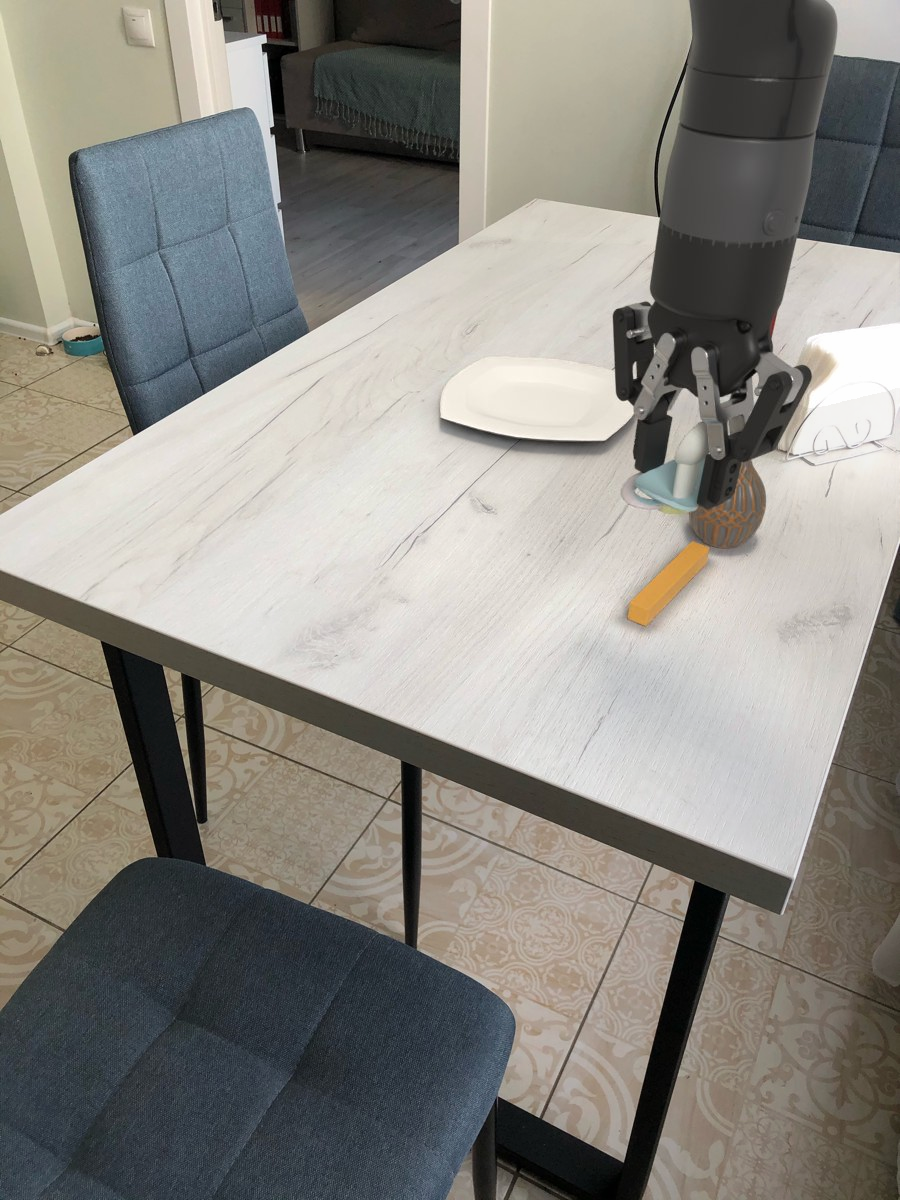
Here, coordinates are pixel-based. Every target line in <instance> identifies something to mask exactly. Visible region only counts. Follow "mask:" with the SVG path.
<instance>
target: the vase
mask: <svg viewBox="0 0 900 1200" xmlns="http://www.w3.org/2000/svg"><path fill="white" fill-rule="evenodd" d="M737 480H738V481H737V484H736V489H735V493H734V495H733V496H732V497H731V499H729V500H726V501H725V502H724V503H722V504H720V505H718V506H715V507H713V508H711V509H708V510H706V509H705V508H703V507H701V506H698V508H697V510H695V511H690V512H688V519H689V523H690V527H691V529H692V530H693V532H694V534H695V535H696V536H697V537H698V539H700V540H701V541H702V542H703V543H705V544H707V545H708V546H711V547H713V548H719V549H732V548H736V547H738V546H740V545H742V544H744V543H746V542H748V540H750V539H752V538H753V536H754V535H755V534H756V533H757V531H758V529H759V528H760V526H761V525H762V522H763V519H764V517H765V513H766V509H767V494H766V488H765V484H764V481H763V480H762V478H761V476H760V474H759V473H758V472H757V470H756V468H755V467H754V463H753V459H752V460H749V461H747V462H742V463H741V468H740V472H739V476H738V479H737Z"/></svg>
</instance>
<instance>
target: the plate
mask: <svg viewBox="0 0 900 1200" xmlns="http://www.w3.org/2000/svg"><path fill="white" fill-rule="evenodd" d="M439 401H440V403H439V404H440V405H439V409H440V410H439V411H440V419H441V420H443V421H446V422H449V423H452V424H455V425H459V426H462V427H465V428H469V429H473V430H476V431H481V432H484V433H488V434H492V435H496V436H501V437H507V438H512V439H517V440H527V441H528V440H530V441H538V442H539V441H540V442H541V441H542V442H557V443H559V442H560V443H562V442H563V443H605V442H606V441H607V440H608V439H610V438H611V437H613V436H614V435H615V434H616V433H618V431H620V430H621V429H622V428H624V427H625V426H626V425H627V423H628V422H630V420H631V419H632V418H633V416H634V415H635V414H634V411H633V408H634V407H633V405H632V404H631V403H630V402H629V401H628V400H626V401H621V400H619V399H618V397H617V395H616V386H615V370H614V369H609V368H605V367H601V366H595V365H592V364H587V363H582V362H578V361H577V362H576V361H570V360H567V359H566V360H564V359H559V358H545V357H529V356H528V357H527V356H484V357H482V358H480V359H478V360H477V361H475V362H473V363H471V364H470V365H468V366H466V367H464V368H463V369H461V370H460V371H459V372H457V373H456V374H455V375H453V376H452V377H451V378H450V379H449V380H448V381H447V382H446V384H445V385H444V387H443V389H442V391H441V395H440V399H439Z"/></svg>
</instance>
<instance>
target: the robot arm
mask: <svg viewBox="0 0 900 1200" xmlns="http://www.w3.org/2000/svg"><path fill="white" fill-rule="evenodd" d="M688 2H689V11H690V19H691V20H690V21H691V43H690V48H689V52H688V53H689V54H688V57H687V62H686V63H687V65H686V68H685V69H686V70H685V75H684V81H683V82H684V83H683V88H682V96H681V101H680V102H681V103H680V109H679V115H678V116H679V117H678V121H679V122H678V124H677V128H676V135H675V138H674V142H673V146H672V149H671V152H670V155H669V158H668V159H669V160H668V164H667V167H666V173H665V180H664V185H663V186H664V187H663V192H662V193H663V194H662V200H661V207H660V215H659V220H658V228H657V235H656V240H655V247H654V256H653V261H652V269H651V275H650V283H649V293H650V295H651V296H652V299H653V303H652V304H651V303H650V302H649V301H640V302H635V303H632V304H628V305H625V306H622V307H618V308H616V309H614V311H613V313H612V336H613V357H614V358H613V360H614V371H615V386H616V395H617V397H618V399H619V400H621V401H626V400H628V401H629V402H630V403H631V404H632V405H633V407H634V408H633V411H634V414H633V415H634V417H636V419H637V421H636V427H635V432H634V433H635V434H634V439H633V440H634V441H633V448H632V457H633V460H634V469H635V470H637V472H641V473H643V474H644V473H646V472H648V471H650V470H653V469H655V468H658V467H660V466H661V465H663V464H665V463H666V458H667V457H666V456H667V453H668V452H667V450H668V447H669V441H670V435H671V428H672V422H673V416H672V415H669V414H668V412H669V411H671V410H672V409H673V407H674V405H675V403H676V402H677V400H678V399H679V398H678V397H680V394H681V393H682V391H683V389H686V390H687V391H689V392H690V393H691V394H692V395H693V396H694V397H696V398H697V400H698V409H699V417H700V420H701V422H702V421H703V422H705V423H706V424H707V433H708V444H709V452H710V453H709V454H708V455H706V458H705V463H704V467H703V472H702V477H701V482H700V487H699V492H698V497H697V504H698V505H699V506H701V507H703V508H705V509H706V510H708V509H711V508H713V507H715V506H718V505H720V504H722V503H724V502H725V501H726V500H729V499H731V497H732V496H733V495H734V493H735V489H736V484H737V481H738V480H737V479H738V476H739V472H740V468H741V463H742V462H747V461H749V460H752V461H753V460H755V459H757V458H759V457H762V456H764V455H767V454H769V453H771V452H774V451H775V450H776V449H777V448H778V445H779V443H780V441H781V439H782V437H783V435H784V434H785V432H786V429H787V428H788V426H789V424H790V422H791V420H792V418H793V416H794V414H795V412H796V410H797V409H798V407H799V405H800V403H801V401H802V399H803V397H804V395H805V393H806V392H807V389H808V387H809V385H810V384H811V382H812V378H813V374H812V371H811V369H810V368H809V366H807V365H805V364H799V365H796V366H791V365H789V364H788V363H787V362H785V361H784V360H783V359H781V358H780V357H779V356H777V355H776V354H775V353H773V352H774V343H773V337H772V338H771V324H772V321H773V319H774V316H775V314H776V313H777V314H778V312H777V311H779V309H780V307H781V305H782V303H783V300H784V295H785V291H786V286H787V282H788V279H789V274H790V269H791V266H792V260H793V256H794V253H795V247H796V244H797V239H798V236H799V231H800V226H801V221H802V219H803V213H804V209H805V204H806V201H807V197H808V191H809V187H810V182H811V177H812V168H813V158H814V157H813V156H814V148H815V147H814V146H815V141H816V137H817V136H816V135H817V133H816V131H817V129H818V125H819V120H820V116H821V111H822V108H823V103H824V99H825V95H826V90H827V85H828V82H829V76H830V72H831V68H832V65H833V60H834V57H835V50H836V45H837V38H838V17H837V13H836V10H835V9H834V6H833V5H832V4H830V2H829V1H828V0H688ZM634 364H636V365H635V366H636V368H635V369H636V378H634ZM756 374H757V377H758V383H757V386H756V387H755V388H754V386H753V385H754V384H753V376H754V375H756ZM729 395H730V397H729V399H728V400H727V401H723V402H721V398H723V397H727V396H729ZM754 395H755V396H756V397H757V399H756V401H754V399H755V398H754Z"/></svg>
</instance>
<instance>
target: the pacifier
mask: <svg viewBox="0 0 900 1200" xmlns="http://www.w3.org/2000/svg"><path fill="white" fill-rule="evenodd" d="M708 454H710V452H709V444H708V433H707V424H706V423H705V422H703V421H702V420H701V421H700V422H698V423H697V424H695V425H694V426H693V427H692V428H691V429H690V430H689V431H688V432H687V434H686V435H685V436H684V437H683V439H682V440H681V442H680V443H679V445H678V447H677V449H676V452H675V454H674V459H672V460H669V461H667V462H664V464H663V465H661V466H660V467H658V468H655V469H653V470H650V471H648V472H646V473H644V474H643V473H641V472H640V471H638V472H637V473H635V474H632V476H630V477H628V479H626V480H625V481H624V483H623V484H622V486H621V488H620V496H621V498H622V500H623V501H624V503H626V504H627V505H629V506H631V507H634V508H637V509H641V510H647V511H648V510H649V511H650V510H653V511H654V510H657V511H658V512H661V513H663V514H667V515H671V516H672V515H673V516H679V515H685V514H687V513H688V514H689V512H690V511H695V510H697V508H698V506H699V505H698V504H697V497H698V492H699V487H700V482H701V477H702V472H703V467H704V463H705V458H706V455H708ZM637 489H638V490H639V491H640V492H641V493H643V494H644V495H646V496H647V498H646V497H643V496H640V495H639V494H637V492H636V490H637ZM648 497H649V498H648Z"/></svg>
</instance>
